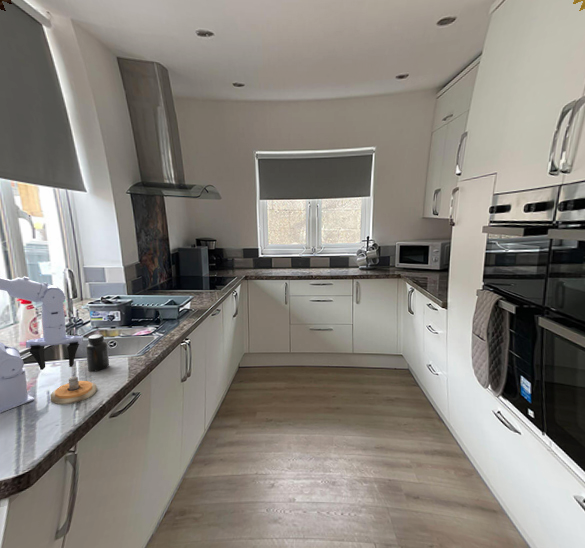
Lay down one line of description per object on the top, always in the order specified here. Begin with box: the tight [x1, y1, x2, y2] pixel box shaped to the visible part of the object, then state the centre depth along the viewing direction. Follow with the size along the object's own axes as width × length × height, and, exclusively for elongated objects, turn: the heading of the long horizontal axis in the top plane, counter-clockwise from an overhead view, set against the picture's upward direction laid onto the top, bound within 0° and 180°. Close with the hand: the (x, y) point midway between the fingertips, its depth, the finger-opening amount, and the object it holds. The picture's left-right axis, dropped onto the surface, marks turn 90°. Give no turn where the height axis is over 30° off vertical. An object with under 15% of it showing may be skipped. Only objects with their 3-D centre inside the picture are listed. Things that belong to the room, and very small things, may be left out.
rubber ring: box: [54, 380, 93, 399], centre depth 106 cm, size 10×10×1 cm
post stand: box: [50, 376, 98, 405], centre depth 106 cm, size 12×12×5 cm
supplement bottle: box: [85, 333, 110, 372], centre depth 124 cm, size 7×7×12 cm
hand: (57, 367), depth 107 cm, fingers open, 7 cm apart
